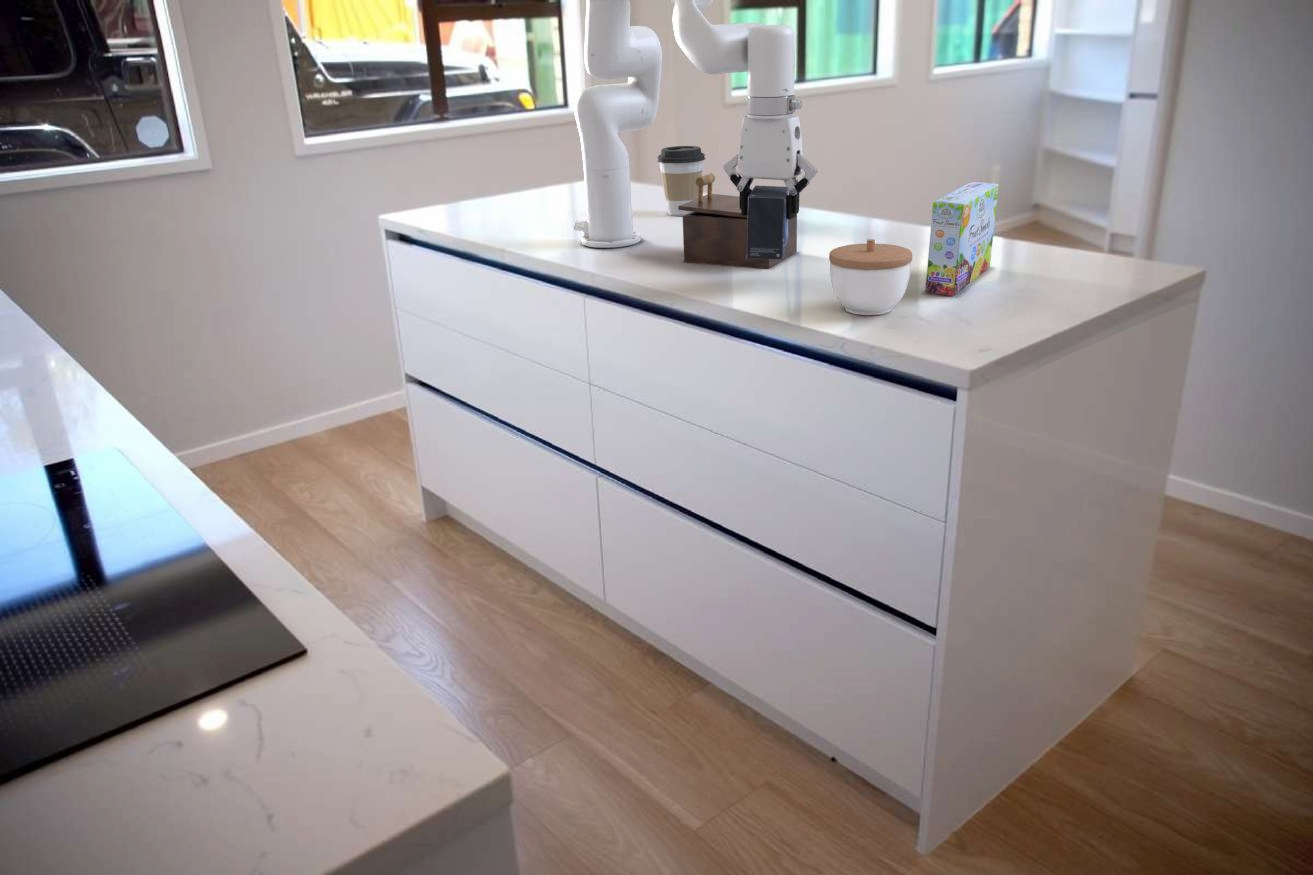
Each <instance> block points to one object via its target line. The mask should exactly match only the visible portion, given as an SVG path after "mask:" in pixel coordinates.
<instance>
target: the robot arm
mask: <svg viewBox="0 0 1313 875" xmlns="http://www.w3.org/2000/svg"><path fill="white" fill-rule="evenodd" d="M713 1H714V0H670V2H671V3H672V5H673V6H674V7H673V11H672V28H673V33H674V37H675V41H676V43H677V45H678V47H679V48H680V50H681V51H682V52H683V53H684V55H685V56H686V57H687V59H688V60H689V61H690V62H691V64H693V66H694V67H695V68H697V69H698V70H699V71H701V73H705V74H707V75H722V74H723V75H725V74H734V73H747V83H746V86H747V87H746V90H747V96H746V97H747V98H746V99H747V100H746V101H747V102H746V103H747V104H746V112H747V113H746V115H744V116H743V119H742V122H741V123H742V124H741V129H740V135H739V144H738V154H736V155H735V156H734V157H733V158H731V159H730V160H729V161H727V162H726V163H725V164H724V165H723V170H724V171H725V173H726V174H727V176H728V177H729V180H730V181H731V183H732V184H733V185H734V187H735V188H736V191H737V192H738V193H739V196H740V209H741V215H742V216H746V215H747V209H748V196H749V195H750V193H751V191H752V190H753V188H751V185H752V184H753V182H754V180H755V179H756V180H757V179H759V180H775V181H783V182H784V184H785V187H787V188H788V190H789V195H787V197H786V218H787V219H792V218H794V217H796V216H797V217H798V213H799V212H800V194H801V193H802V192H803V190H804V189H806V187H807V186H808V185H809V184H810V183H811V181H812V180H813V179H814V178H815V177H816V175H817V174H818V169H817V168H816V166H814V165H813V164H812V163H811V162H810V161H809V160H807V159H806V158H805V157H804V151H803V150H804V149H803V148H804V147H803V137H802V136H803V135H802V128H801V122H800V115H798V114H794V113H795V112H796V110H802V107H803V102H802V100H800V99H799V100H798V99H796V95H795V68H796V31H795V30H794V27H792V26H790V25H787V24H764V23H761V22H739V23H738V22H737V23H720V24H712V23H711V22H709V21H708V19H707V18H706V17H705V16H704V14H703V12H704V11H705V10H706V9H708V8H709V7H710V6H711V4H712V3H713ZM585 12H586V13H585V31H584V32H585V33H584V66H585V69H586V71H587V73H588V74H589V76H590V77H593V78H594V79H597V80H616V79H617V80H618V79H627V82H621V83H607V84H605V83H604V84H596V85H592V86H589V87H586V88H584V89H583V90H581V91H580V92H579V93H578V94H577V96H576V97H575V100H574V103H573V104H574V105H573V107H574V108H573V111H574V117H575V121H576V125H577V129H578V133H579V138H580V145H581V154H582V164H583V167H582V168H583V176H584V178H583V179H584V189H585V205H586V217H587V218H586V220H576V221H575V223H574V226H573V230H574V231H575V232H583V236H582V237H581V244H582V245H583V246H585V247H588V248H596V249H610V248H612V249H613V248H623V247H628V246H632V245H636V244H639V243H640V241H642V235H641V233H639V232H636V231H634V224H633V223H634V221H633V202H632V186H631V184H632V183H631V169H630V168H631V167H630V166H631V165H630V157H629V152H628V150H627V147H626V146H625V144H624V143H623V141H622V140H621V138H620V137H619V135H618V134H621V133H628V132H635V131H641V130H645V129H648V128H650V127H651V126H652V125H653V124H654V122H655V120H656V119H657V115H658V111H659V100H660V91H661V90H660V89H661V80H662V78H661V77H662V69H663V51H662V50H663V49H662V45H661V41H660V39H659V37H658V36H659V35H658V34H657V33H656V32H655V31H654V30H653V29H652V28H651V27H648V26H644V25H631V12H632V8H631V1H630V0H586V11H585ZM736 167H738V171H737V169H736ZM803 171H804V175H803V176H802V178H801V179H799V178H798V176H799V175H801V174H802V173H803Z"/></svg>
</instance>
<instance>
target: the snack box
mask: <svg viewBox="0 0 1313 875" xmlns="http://www.w3.org/2000/svg"><path fill="white" fill-rule="evenodd" d="M999 188H1000V184H999V183H990V182H978V181H977V182H976V181H975V182H973V181H971V182H968V183H967V184H965V185H963V186H961V187H959V188H957V189H956V190H954V191H951V192H950V193H947V194H946V195H944V196H942V197H940V198H938V199H937V200H934V201H933V202H932V210H931V221H930V222H931V223H930V233H929V245H928V256H927V267H926V277H925V287H924V293H930V294H937V295H944V296H952V297H954V296H955V295H956V294H958V293H959V292H961V291H962V290H963V289H964V288H966V286H968V285H969V284H970V283H972V282H973V281H975V280H976V279H977V278H979V277H980V276H981V275H983V274H984V273H985V272H986V271H987V270H989V269H990V268H991V260H992V250H993V242H994V232H995V223H996V215H997V206H998V197H999Z"/></svg>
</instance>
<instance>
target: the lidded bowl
mask: <svg viewBox="0 0 1313 875" xmlns="http://www.w3.org/2000/svg"><path fill="white" fill-rule="evenodd" d="M828 254H829V256H828V260H829V278H830V284H831V289H832V292H833V295H834V296H835V298H836V299H837V301H838V302H839V303H840V304H841V305H842V306H843V307H845V311H846V312H847V313H850V314H853V315H857V316H858V315H860V316H880V315H885V314H888V313H890V312H892V310H893V309H892V308H894V307H895V306H896V305H897V304H898V303H899V302H900V301H901V300H902V298H903V297H904V295H905V293H906V291H907V288H908V285H909V282H910V276H911V270H912V268H911V267H912V260H913V252H912V251H911V250H910V249H909V248H907V247H904V246H900V245H896V244H888V243H876V239H875V238H867V239H866V243H853V244H847V245H841V246H838V247H835V248H833V249H831V250H830V251H829V253H828Z"/></svg>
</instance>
